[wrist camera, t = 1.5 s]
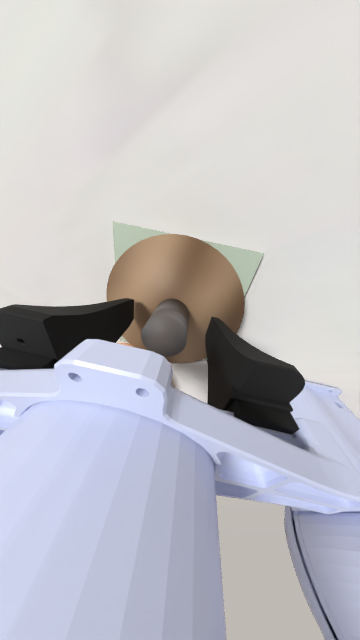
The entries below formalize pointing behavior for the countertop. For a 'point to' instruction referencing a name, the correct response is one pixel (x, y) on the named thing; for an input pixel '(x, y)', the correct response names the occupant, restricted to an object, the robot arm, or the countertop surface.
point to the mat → (239, 258)
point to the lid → (176, 294)
